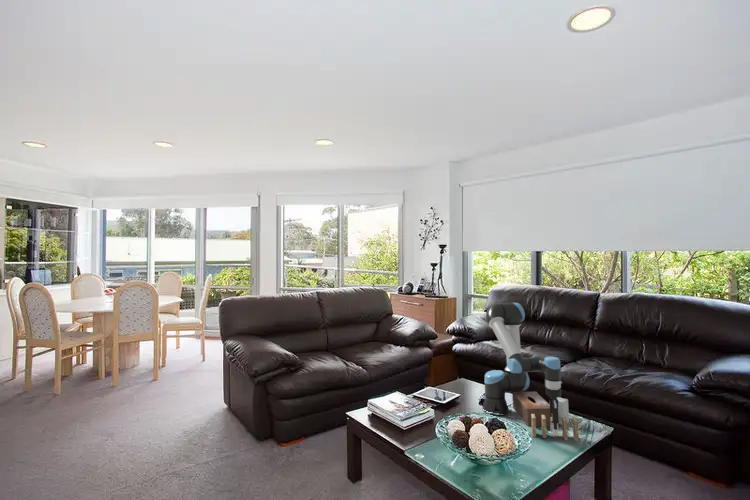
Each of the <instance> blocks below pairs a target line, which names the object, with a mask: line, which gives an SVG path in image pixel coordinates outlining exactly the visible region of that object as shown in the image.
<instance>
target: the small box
mask: <svg viewBox="0 0 750 500" xmlns="http://www.w3.org/2000/svg"><path fill="white" fill-rule="evenodd" d="M557 400H558V420H559V423H558V425H560V426H562V416H564V417H566V419H567V424H569V423H570V414H569V399H568V398H562V397H561V396H560V397H557Z"/></svg>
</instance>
